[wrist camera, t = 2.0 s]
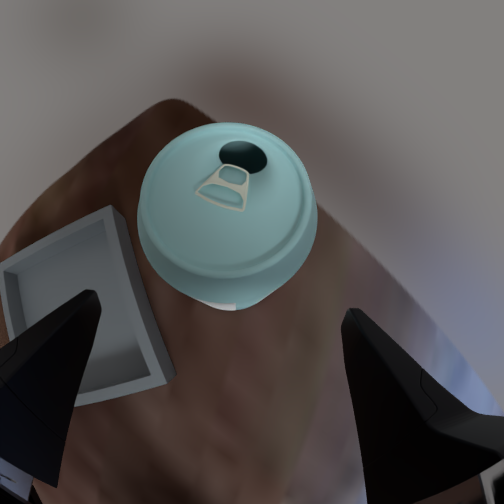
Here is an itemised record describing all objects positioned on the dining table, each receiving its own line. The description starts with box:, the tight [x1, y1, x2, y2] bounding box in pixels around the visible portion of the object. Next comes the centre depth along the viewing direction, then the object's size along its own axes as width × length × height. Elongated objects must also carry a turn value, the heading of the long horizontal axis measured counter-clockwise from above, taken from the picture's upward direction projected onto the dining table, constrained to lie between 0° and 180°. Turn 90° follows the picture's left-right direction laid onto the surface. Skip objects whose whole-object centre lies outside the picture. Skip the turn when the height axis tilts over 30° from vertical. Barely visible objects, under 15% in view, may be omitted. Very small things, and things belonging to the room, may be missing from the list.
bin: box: [0, 205, 177, 407], centre depth 17 cm, size 13×13×3 cm
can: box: [137, 122, 317, 310], centre depth 15 cm, size 7×7×12 cm
